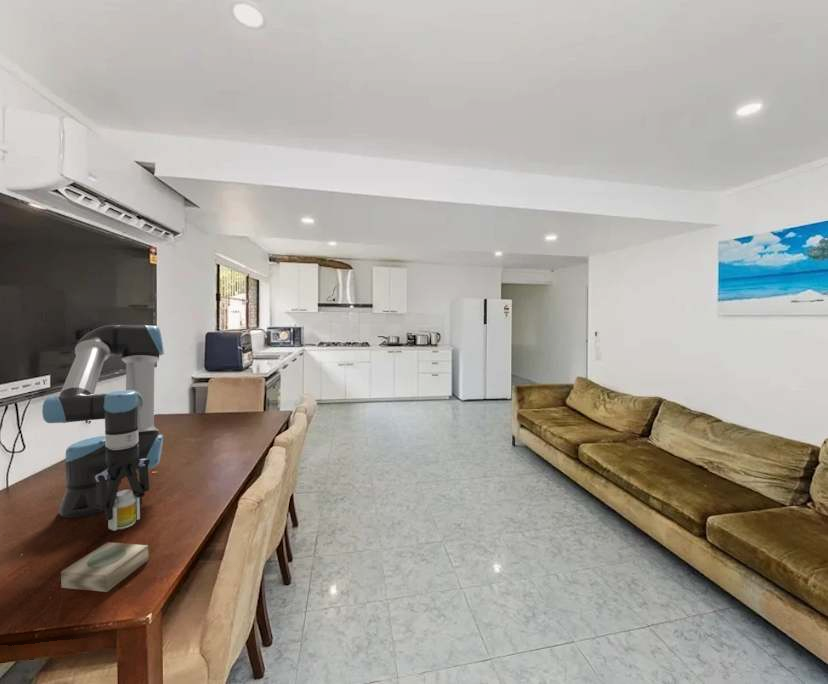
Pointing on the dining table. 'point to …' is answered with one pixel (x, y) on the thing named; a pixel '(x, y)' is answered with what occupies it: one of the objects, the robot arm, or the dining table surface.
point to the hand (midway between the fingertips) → (124, 523)
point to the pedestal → (104, 567)
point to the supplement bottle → (125, 509)
